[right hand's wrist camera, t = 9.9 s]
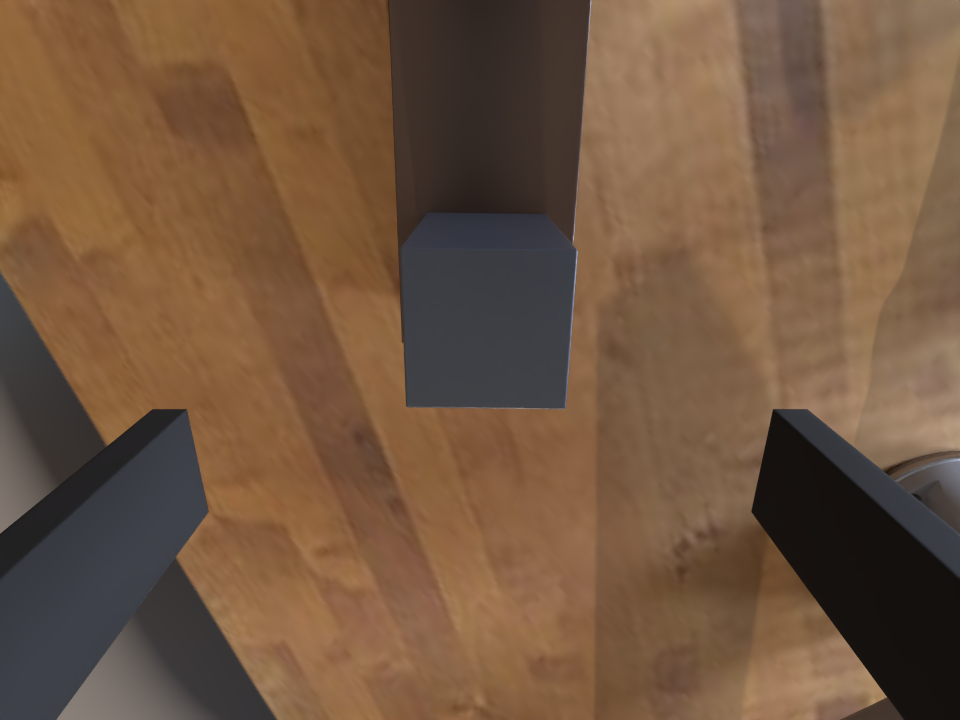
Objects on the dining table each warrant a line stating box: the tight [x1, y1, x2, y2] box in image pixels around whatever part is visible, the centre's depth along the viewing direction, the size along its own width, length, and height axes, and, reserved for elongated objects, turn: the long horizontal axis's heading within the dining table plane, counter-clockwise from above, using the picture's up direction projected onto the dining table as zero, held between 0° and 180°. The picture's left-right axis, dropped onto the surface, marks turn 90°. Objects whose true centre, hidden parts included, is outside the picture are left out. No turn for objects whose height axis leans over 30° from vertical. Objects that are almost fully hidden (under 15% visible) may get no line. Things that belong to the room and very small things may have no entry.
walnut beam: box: [389, 0, 591, 343], centre depth 30 cm, size 9×28×9 cm, turn 179°
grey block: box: [400, 212, 578, 409], centre depth 24 cm, size 6×6×10 cm
